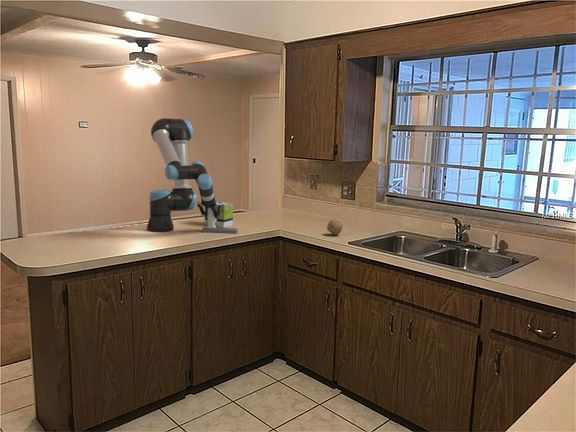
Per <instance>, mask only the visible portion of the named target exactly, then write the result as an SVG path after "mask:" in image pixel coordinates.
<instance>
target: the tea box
mask: <svg viewBox="0 0 576 432" xmlns="http://www.w3.org/2000/svg"><path fill="white" fill-rule="evenodd" d="M215 201H216V202H217V203H219V202H220V203H221V206H220V216H218V215H217V216H218V217H217V219H216V223H215V222H214V226H216V227H217V228H230V227H232V226H233V225H234V223H233V222H234V221H233V220H234V203H233V202H226V201H218V200H215ZM215 209H216V211H217V205H215ZM207 213H208V212H207ZM204 225H205V226H207V225H208V219H207V218H206V217H205V216H204Z"/></svg>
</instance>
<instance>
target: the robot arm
mask: <svg viewBox="0 0 576 432" xmlns="http://www.w3.org/2000/svg"><path fill="white" fill-rule="evenodd" d="M193 135H194V128H193V126H192V123H191V122H190V121H189V120H187V119H184V118H167V117H166V118H165V117H162V118H159V119H157V120H156V121H154V123H153V124H152V127H151V128H150V136H151V138H152V140H153V141H154V142H155V143H156V146H157V148H158V149H159V151H160V152H159V153H160V154H161V157H162V159H163V161H164V163H165V165H166V167H165V168H164V173H165V177H166V179H167V180H171V181H172V180H173V181H174V185H173V186H172V189H170V188H162V189H161V188H160V189H156V190H152V191H151V192H150V194H149V218H148V222H147V224H146V225H147V226H146V230H147V231H149V232H152V233H153V232H154V233H155V232H157V233H163V232H165V233H167V232H171V231H174V230H175V229H174V228H175V227H174V226H175V225H174V222H173V220H172V216H171V215H172V214H171V212H180V211H185V212H186V211H192V210H193V209H194V208H195V206H196V205H197V207H198V209H199V211H200V214H201V216H204V218H205V217H206V218H207V219H208V213H207V212H208V208H211V210H212V211H213V213H214V216H213V217H214V222H215V223H216V219H217V217H218V216H220V206H221V203H220V202H221V201H220V202H219V203H217V202H216V201H217V200H216V198H215V197H216V196H215V192H214V187H213V186H214V185H213V180H212V177H211V175H209V174H208V172H207V169H206V166H205V165H204V163H203V162H202V161H200V160H197V161H193V162H192V163H191V164H189V153H188V152H189V151H188V144H189V143H190V140H192V139H193ZM190 180H195V183H196V185H197V187H198V192H199V196H200V200H201V201H197V194H196V193H197V192H196V191H194V190H193V187H192V186H191V185H190ZM171 190H172V191H171ZM215 205H217V211H216V209H215ZM217 215H218V216H217Z"/></svg>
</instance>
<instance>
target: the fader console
mask: <svg viewBox="0 0 576 432" xmlns="http://www.w3.org/2000/svg"><path fill="white" fill-rule="evenodd" d="M201 232H202V233H210V234H212V233H213V234H214V233H215V234H232V235H233V234H234V235H236V234H238V232H239V228H237V227H236V228H235V227H226V228H221V227H216V228H215V229H214V228H206V226H203V227H202V229H201Z"/></svg>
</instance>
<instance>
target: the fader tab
mask: <svg viewBox="0 0 576 432" xmlns="http://www.w3.org/2000/svg"><path fill="white" fill-rule="evenodd" d="M213 216H214V213H213V211H212V210H211V208H208V225H205V227H206V228H214V229H215V228H216V226H214V217H213Z"/></svg>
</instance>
